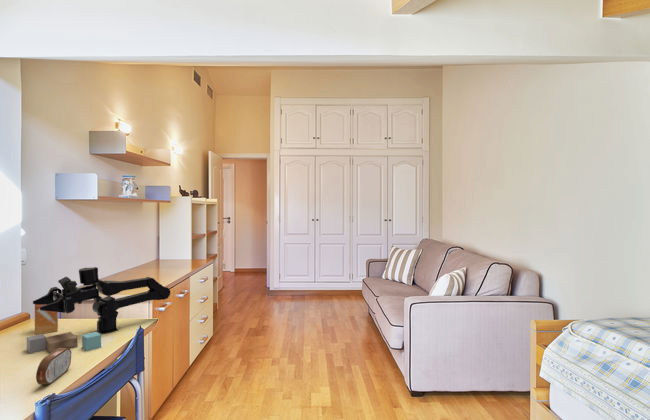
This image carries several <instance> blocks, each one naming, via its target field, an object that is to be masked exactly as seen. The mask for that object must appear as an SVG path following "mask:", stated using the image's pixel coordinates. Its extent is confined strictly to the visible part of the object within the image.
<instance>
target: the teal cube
mask: <svg viewBox="0 0 650 420" xmlns="http://www.w3.org/2000/svg"><path fill="white" fill-rule="evenodd" d="M81 341H82V342H81V345H82V346H81V347H82V349H83V350H84V351H86V352H89V351H92V350H96V349H100V348H102V334H101V333H100V332H98V331H94V332H89V333H85V334H82V335H81Z"/></svg>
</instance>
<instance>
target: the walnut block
mask: <svg viewBox="0 0 650 420" xmlns="http://www.w3.org/2000/svg"><path fill="white" fill-rule="evenodd" d="M45 337H46V350H45V351H47V353H49V354H51V353H52V352H54V351H55V350H57V349H58V348H68V349H70V350H72V349H75V348H78V347H79V345H78V336H76V335H75V334H74V333H72V331H69V332H63V333H60V334H55V335H50V336H45Z"/></svg>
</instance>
